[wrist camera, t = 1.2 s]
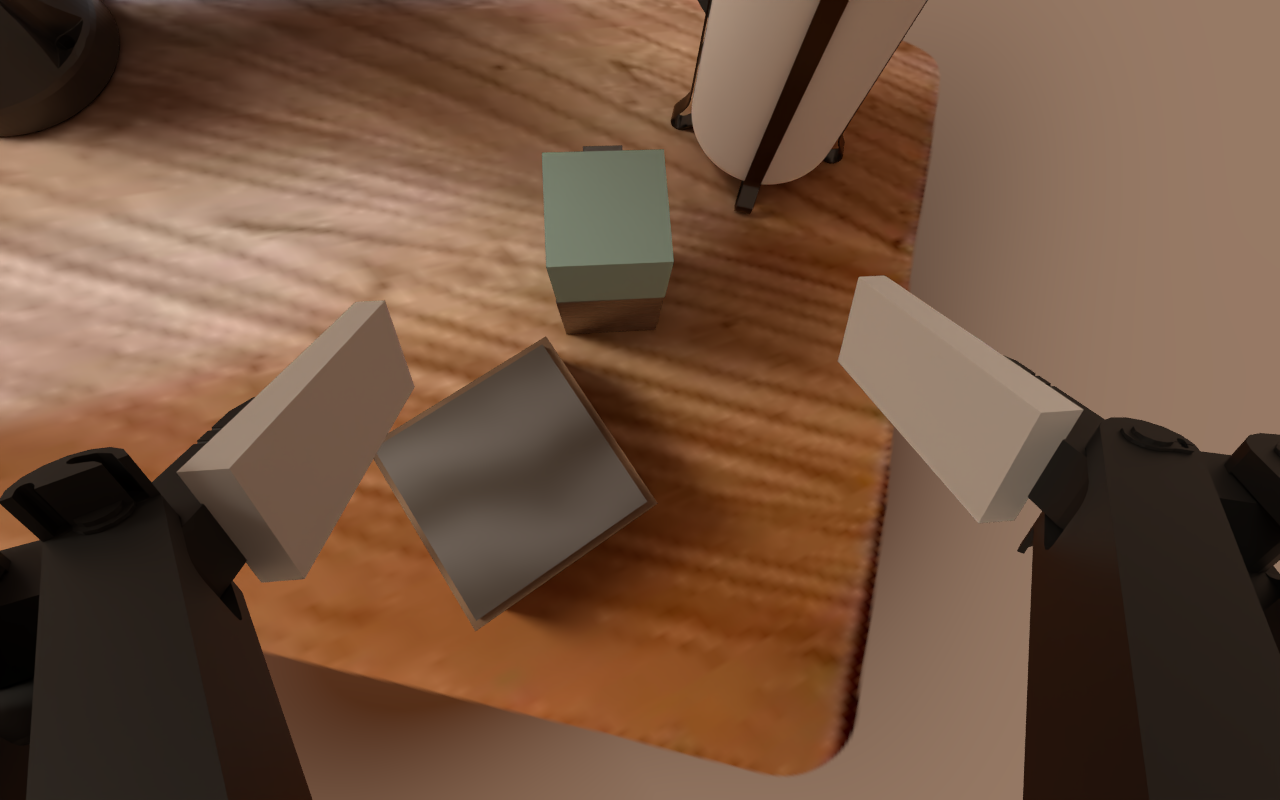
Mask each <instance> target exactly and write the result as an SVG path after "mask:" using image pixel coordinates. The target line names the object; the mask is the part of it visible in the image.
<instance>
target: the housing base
mask: <svg viewBox="0 0 1280 800" xmlns="http://www.w3.org/2000/svg"><path fill="white" fill-rule="evenodd" d="M663 299H664V297H661V298H640V299H618V300H597V301H575V302H557V300H556V303H557V306H558V309H559V313H560V316H561V319H562V322H563V325H564V328H565V331H566V334H584V333H602V332H621V331H639V330H656V326H657V322H658V318H659V314H660V310H661V306H662V302H663Z"/></svg>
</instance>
